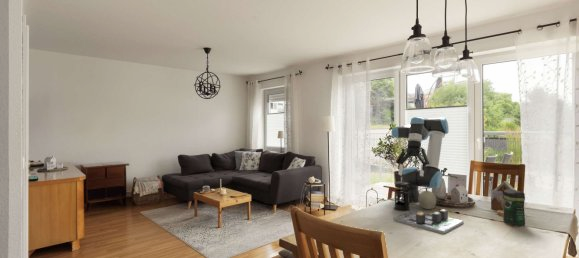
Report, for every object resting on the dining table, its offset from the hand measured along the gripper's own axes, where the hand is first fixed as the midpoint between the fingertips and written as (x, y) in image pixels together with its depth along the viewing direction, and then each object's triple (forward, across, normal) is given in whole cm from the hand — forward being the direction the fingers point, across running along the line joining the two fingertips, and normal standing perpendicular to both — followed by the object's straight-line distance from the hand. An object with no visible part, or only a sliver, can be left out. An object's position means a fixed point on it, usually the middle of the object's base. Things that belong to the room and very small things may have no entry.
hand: (410, 175), depth 178 cm
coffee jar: (+15, +41, +38) cm, 58 cm away
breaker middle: (+23, +15, +7) cm, 28 cm away
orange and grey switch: (+26, +10, -1) cm, 28 cm away
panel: (+24, +10, +7) cm, 27 cm away
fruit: (+14, -4, +30) cm, 34 cm away
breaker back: (+20, +14, +14) cm, 29 cm away
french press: (+18, -13, +18) cm, 29 cm away
